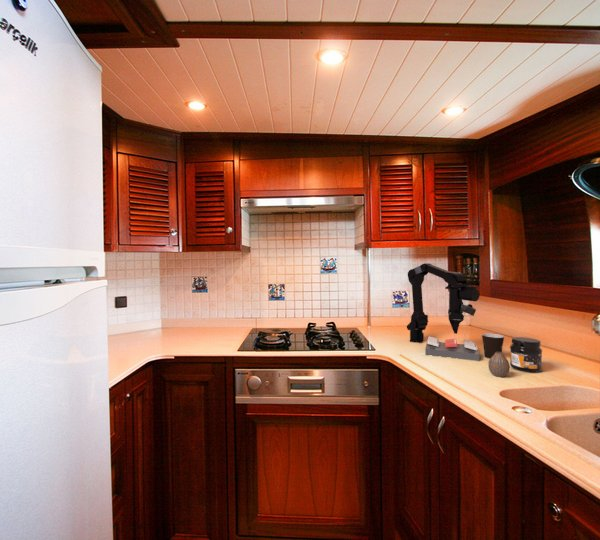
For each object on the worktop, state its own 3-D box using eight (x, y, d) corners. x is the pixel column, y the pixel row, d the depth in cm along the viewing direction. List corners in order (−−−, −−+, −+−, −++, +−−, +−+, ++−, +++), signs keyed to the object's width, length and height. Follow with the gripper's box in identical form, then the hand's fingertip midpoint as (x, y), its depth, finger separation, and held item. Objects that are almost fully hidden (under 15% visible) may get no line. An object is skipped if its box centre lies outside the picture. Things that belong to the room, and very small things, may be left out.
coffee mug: (496, 361, 138) (496, 338, 137) (477, 356, 145) (477, 334, 145) (511, 357, 143) (512, 335, 143) (492, 352, 151) (493, 332, 150)
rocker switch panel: (425, 355, 147) (425, 348, 147) (427, 346, 162) (427, 340, 162) (479, 361, 138) (479, 353, 138) (475, 351, 153) (476, 345, 152)
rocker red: (445, 347, 148) (445, 344, 148) (445, 342, 158) (445, 339, 158) (457, 346, 146) (456, 343, 146) (456, 341, 156) (456, 338, 156)
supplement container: (509, 370, 126) (510, 340, 126) (510, 363, 135) (510, 335, 135) (542, 375, 120) (543, 344, 120) (540, 367, 129) (541, 338, 129)
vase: (484, 372, 124) (484, 350, 123) (500, 371, 124) (501, 349, 124) (496, 379, 117) (496, 355, 117) (514, 378, 117) (514, 355, 117)
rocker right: (464, 347, 144) (465, 344, 144) (463, 341, 154) (463, 339, 154) (476, 350, 142) (477, 347, 142) (474, 344, 152) (475, 342, 152)
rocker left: (427, 343, 151) (427, 340, 151) (428, 338, 161) (428, 336, 161) (438, 346, 149) (438, 344, 149) (438, 341, 159) (439, 339, 159)
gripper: (476, 302, 139) (476, 337, 139) (473, 297, 156) (472, 329, 156) (448, 300, 143) (448, 335, 144) (448, 296, 160) (447, 327, 161)
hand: (455, 331), depth 151 cm, fingers open, 9 cm apart
